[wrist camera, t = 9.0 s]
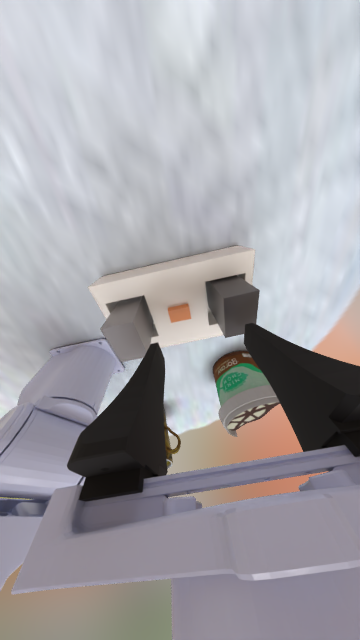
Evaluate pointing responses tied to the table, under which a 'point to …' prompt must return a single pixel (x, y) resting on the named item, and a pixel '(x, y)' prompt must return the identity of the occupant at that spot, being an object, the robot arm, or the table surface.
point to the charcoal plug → (129, 328)
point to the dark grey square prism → (232, 304)
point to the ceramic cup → (167, 444)
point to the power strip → (176, 292)
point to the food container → (242, 391)
